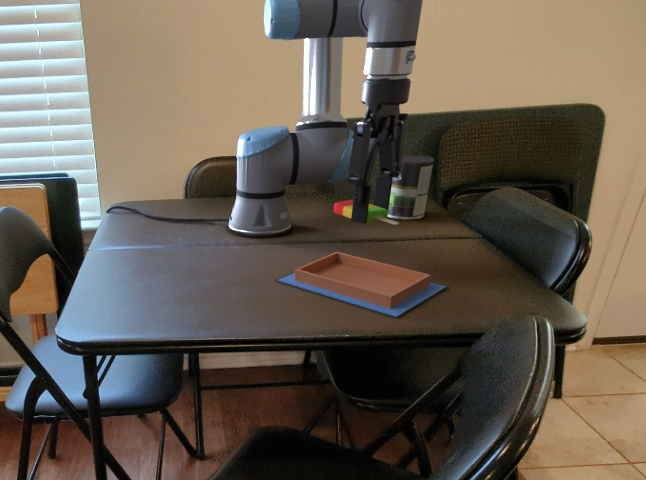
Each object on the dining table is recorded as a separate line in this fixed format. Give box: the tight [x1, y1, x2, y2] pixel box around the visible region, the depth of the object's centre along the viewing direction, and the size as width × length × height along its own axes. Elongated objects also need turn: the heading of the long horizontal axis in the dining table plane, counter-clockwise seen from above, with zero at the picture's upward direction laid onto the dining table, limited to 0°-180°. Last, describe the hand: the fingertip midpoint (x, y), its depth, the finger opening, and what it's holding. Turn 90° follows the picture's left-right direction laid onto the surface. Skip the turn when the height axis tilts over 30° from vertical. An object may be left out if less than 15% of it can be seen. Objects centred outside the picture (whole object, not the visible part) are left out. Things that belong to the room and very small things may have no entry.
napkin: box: [277, 272, 447, 318], centre depth 111 cm, size 25×18×1 cm
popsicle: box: [333, 199, 400, 226], centre depth 106 cm, size 6×15×2 cm, turn 23°
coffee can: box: [387, 154, 435, 221], centre depth 149 cm, size 10×10×14 cm
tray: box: [294, 251, 432, 309], centre depth 111 cm, size 20×14×2 cm
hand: (369, 217), depth 106 cm, fingers closed on popsicle, 6 cm apart
